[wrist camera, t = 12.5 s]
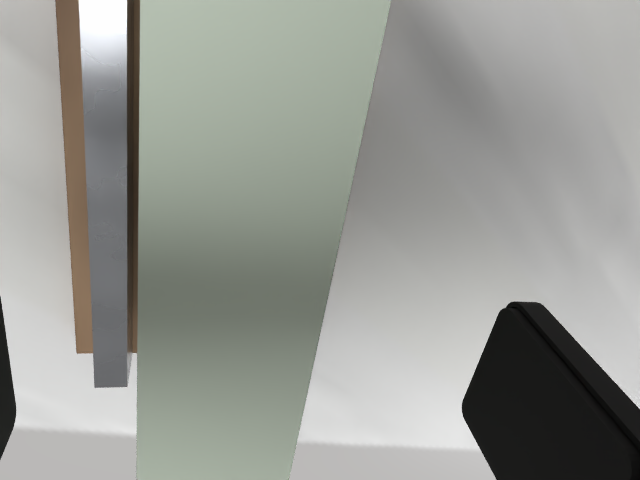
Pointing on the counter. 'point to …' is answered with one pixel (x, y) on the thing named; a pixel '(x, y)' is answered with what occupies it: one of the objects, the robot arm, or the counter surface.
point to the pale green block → (241, 220)
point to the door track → (102, 176)
